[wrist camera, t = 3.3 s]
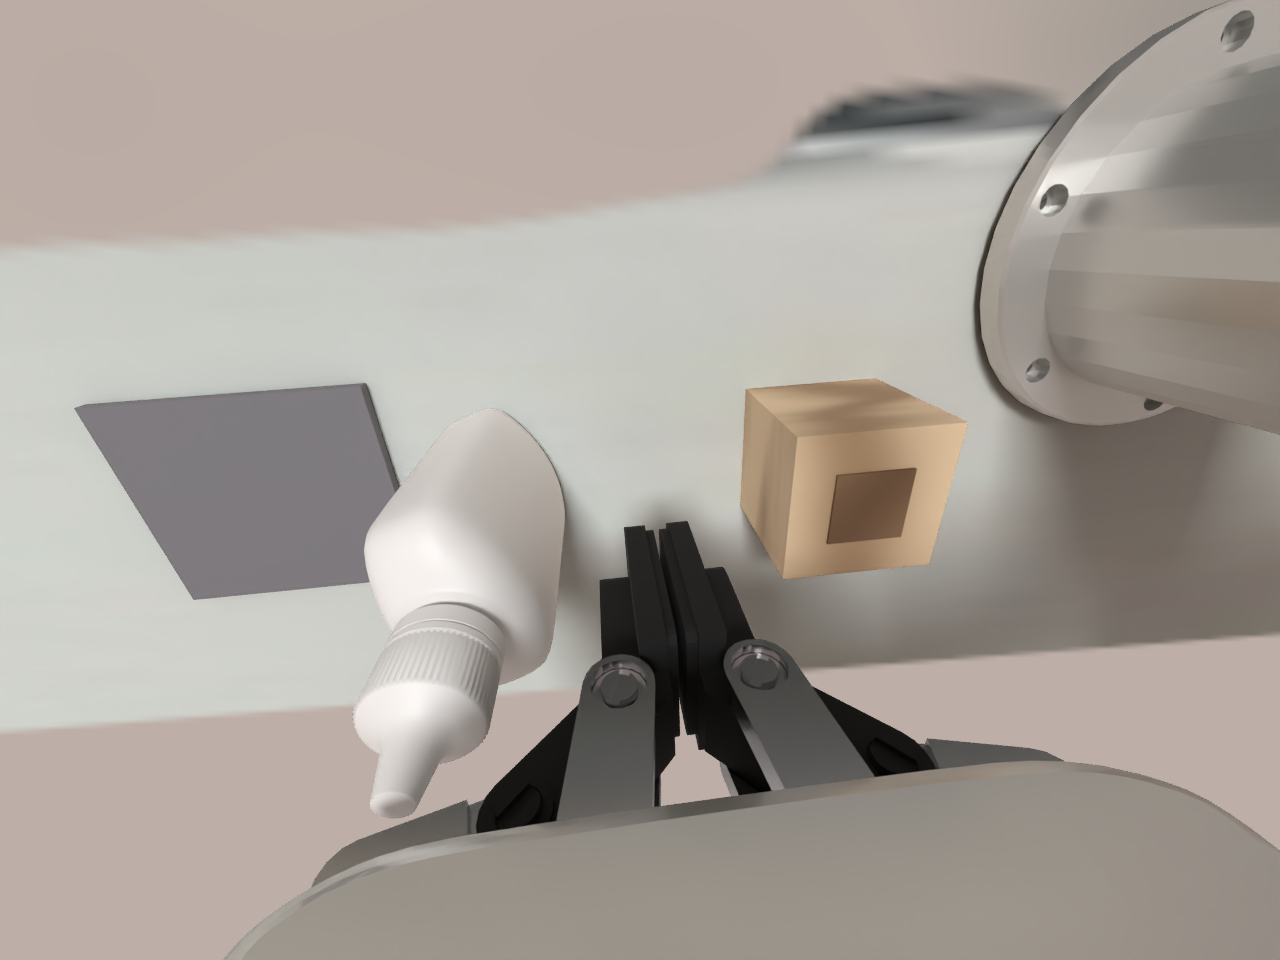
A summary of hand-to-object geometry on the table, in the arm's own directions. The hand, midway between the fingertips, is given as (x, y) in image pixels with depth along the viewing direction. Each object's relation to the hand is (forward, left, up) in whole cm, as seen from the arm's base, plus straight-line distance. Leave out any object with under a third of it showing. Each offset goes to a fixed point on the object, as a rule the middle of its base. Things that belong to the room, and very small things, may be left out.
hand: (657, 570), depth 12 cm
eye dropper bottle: (+3, -3, -7) cm, 8 cm away
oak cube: (-5, +5, -7) cm, 10 cm away
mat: (+10, -9, -7) cm, 15 cm away
